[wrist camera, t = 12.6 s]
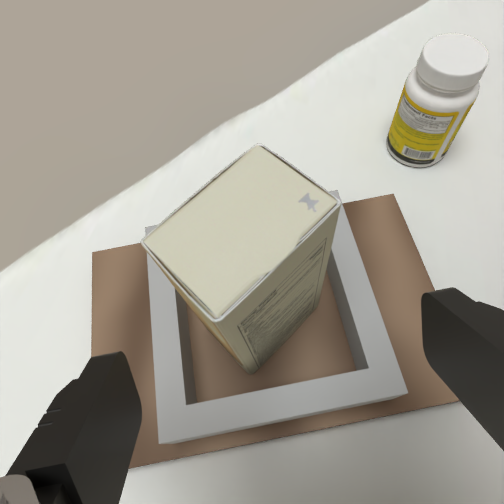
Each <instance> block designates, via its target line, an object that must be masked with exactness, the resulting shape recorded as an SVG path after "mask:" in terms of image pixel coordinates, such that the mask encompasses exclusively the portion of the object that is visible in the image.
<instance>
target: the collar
mask: <svg viewBox="0 0 504 504" xmlns="http://www.w3.org/2000/svg"><path fill="white" fill-rule="evenodd" d="M329 193H331V194H332V195H334V196H335V197H336V198H338V199H339V200H340V201H341V199H340V196H339V193H338V190H335V191H330V192H329ZM157 226H158V225H155V226H149V227H145V232H146V235H148V234H149V233H150V232H151V231H152V230H153V229H154V228H156V227H157ZM147 264H148V280H149V296H150V312H151V327H152V343H153V359H154V375H155V391H156V407H157V422H158V438H159V444H175V443H180V442H185V441H190V440H195V439H200V438H205V437H210V436H215V435H219V434H224V433H229V432H234V431H239V430H244V429H249V428H254V427H259V426H264V425H268V424H273V423H278V422H283V421H288V420H293V419H298V418H303V417H308V416H313V415H317V414H322V413H327V412H332V411H337V410H342V409H347V408H352V407H357V406H362V405H366V404H371V403H376V402H381V401H386V400H391V399H394V398H397V397H399V396H402V395H405V394H407V393H408V391H407V388H406V385H405V382H404V379H403V376H402V373H401V371H400V368H399V365H398V362H397V359H396V356H395V353H394V350H393V348H392V345H391V342H390V339H389V336H388V333H387V330H386V328H385V325H384V322H383V319H382V316H381V313H380V310H379V308H378V305H377V302H376V299H375V296H374V293H373V290H372V288H371V285H370V282H369V279H368V276H367V273H366V270H365V268H364V265H363V262H362V259H361V256H360V253H359V250H358V248H357V245H356V242H355V239H354V236H353V233H352V230H351V227H350V225H349V222H348V219H347V216H346V213H345V210H344V207H343V205H342V202H341V207H340V212H339V216H338V220H337V225H336V229H335V234H334V238H333V243H332V247H331V251H330V255H329V259H328V264H327V268H326V270H327V273H328V276H329V280H330V283H331V286H332V290H333V293H334V296H335V300H336V303H337V306H338V310H339V313H340V317H341V320H342V323H343V327H344V330H345V333H346V337H347V340H348V343H349V347H350V350H351V353H352V357H353V360H354V363H355V367H356V370H357V371H353V372H348V373H343V374H338V375H333V376H328V377H323V378H319V379H314V380H309V381H304V382H299V383H294V384H289V385H284V386H279V387H274V388H269V389H264V390H259V391H254V392H249V393H244V394H240V395H235V396H230V397H225V398H220V399H215V400H210V401H205V402H200V403H197V398H196V389H195V380H194V371H193V362H192V352H191V343H190V334H189V325H188V316H187V306H186V302H185V300H184V299H183V298H182V296H181V295H180V294H179V292H178V291H177V290H176V289H175V287H174V286H173V285H172V284H171V282H170V281H169V280H168V278H167V277H166V276H165V274H164V273H163V272H162V270H161V269H160V268H159V267H158V265H157V264H156V263H155V261H154V260H153V259H152V258H151V256H150V255H149V254H148V253H147Z"/></svg>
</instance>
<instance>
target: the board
mask: <svg viewBox="0 0 504 504" xmlns="http://www.w3.org/2000/svg"><path fill="white" fill-rule="evenodd" d="M342 205H343V207H344V210H345V213H346V216H347V219H348V222H349V225H350V227H351V230H352V233H353V236H354V239H355V242H356V245H357V248H358V250H359V253H360V256H361V259H362V262H363V265H364V268H365V270H366V273H367V276H368V279H369V282H370V285H371V288H372V290H373V293H374V296H375V299H376V302H377V305H378V308H379V310H380V313H381V316H382V319H383V322H384V325H385V328H386V330H387V333H388V336H389V339H390V342H391V345H392V348H393V350H394V353H395V356H396V359H397V362H398V365H399V368H400V371H401V373H402V376H403V379H404V382H405V385H406V388H407V391H408V393H407V394H405V395H402V396H399V397H397V398H394V399H391V400H386V401H381V402H376V403H371V404H366V405H362V406H357V407H352V408H347V409H342V410H337V411H332V412H327V413H322V414H317V415H313V416H308V417H303V418H298V419H293V420H288V421H283V422H278V423H273V424H268V425H264V426H259V427H254V428H249V429H244V430H239V431H234V432H229V433H224V434H219V435H215V436H210V437H205V438H200V439H195V440H190V441H185V442H180V443H175V444H159V438H158V422H157V407H156V391H155V375H154V359H153V343H152V327H151V312H150V296H149V280H148V264H147V252H146V250H145V249H144V248H143V246H142V245H141V243H138V244H133V245H128V246H122V247H117V248H112V249H107V250H102V251H97V252H92V342H91V357H93V356H98V355H103V354H108V353H114V352H119V351H122V352H123V353H124V354H125V356H126V358H127V360H128V364H129V367H130V370H131V373H132V376H133V379H134V382H135V385H136V388H137V391H138V394H139V397H140V400H141V406H142V422H141V426H140V430H139V433H138V437H137V440H136V444H135V448H134V451H133V455H132V458H131V462H130V465H129V469H130V468H134V467H139V466H144V465H149V464H154V463H159V462H164V461H169V460H173V459H178V458H183V457H188V456H193V455H198V454H203V453H208V452H212V451H217V450H222V449H227V448H232V447H237V446H242V445H247V444H252V443H256V442H261V441H266V440H271V439H276V438H281V437H286V436H291V435H295V434H300V433H305V432H310V431H315V430H320V429H325V428H330V427H334V426H339V425H344V424H349V423H354V422H359V421H364V420H369V419H374V418H378V417H383V416H388V415H393V414H398V413H403V412H408V411H413V410H417V409H422V408H427V407H432V406H437V405H442V404H447V403H452V402H457V401H460V400H459V399H458V398H457V397H456V395H455V394H454V393H453V392H452V391H451V390H450V389H449V387H448V386H447V385H446V384H445V383H444V382H443V380H442V379H441V378H440V377H439V376H438V375H437V374H436V372H435V371H434V370H433V369H432V368H431V366H430V365H429V363H428V361H427V359H426V356H425V353H424V349H423V341H422V317H421V297H422V295H423V294H424V293H426V292H431V291H435V289H434V287H433V285H432V282H431V280H430V278H429V275H428V273H427V271H426V268H425V266H424V264H423V261H422V259H421V257H420V254H419V252H418V250H417V247H416V245H415V243H414V240H413V238H412V236H411V233H410V231H409V229H408V226H407V224H406V222H405V219H404V217H403V215H402V213H401V210H400V208H399V206H398V203H397V201H396V199H395V196H394V194H390V195H384V196H379V197H374V198H369V199H364V200H359V201H354V202H349V203H343V204H342ZM186 306H187V316H188V325H189V334H190V343H191V352H192V362H193V371H194V380H195V389H196V398H197V403H200V402H205V401H210V400H215V399H220V398H225V397H230V396H235V395H240V394H244V393H249V392H254V391H259V390H264V389H269V388H274V387H279V386H284V385H289V384H294V383H299V382H304V381H309V380H314V379H319V378H323V377H328V376H333V375H338V374H343V373H348V372H353V371H357V370H356V367H355V363H354V360H353V357H352V353H351V350H350V347H349V343H348V340H347V337H346V333H345V330H344V327H343V323H342V320H341V317H340V313H339V310H338V306H337V303H336V300H335V296H334V293H333V290H332V286H331V283H330V280H329V276H328V273H327V270H326V273H325V277H324V281H323V286H322V290H321V295H320V299H319V304H318V306H317V308H316V309H315V310H314V311H313V312H312V313H311V314H310V316H309V317H308V318H307V319H306V320H305V321H304V322H303V323H302V325H301V326H300V327H299V328H298V329H297V330H296V331H295V332H294V333H293V334H292V335H291V336H290V337H289V338H288V339H287V341H286V342H285V343H284V344H283V345H282V346H281V347H280V348H279V349H278V350H277V351H276V352H275V353H274V354H273V355H272V356H271V357H270V358H269V359H268V360H267V361H266V362H265V363H264V364H263V365H262V366H261V367H260V368H259V369H258V370H257V371H256V372H255V373H254V374H248V373H247V372H246V371H245V370H244V369H243V368H242V367H241V366H240V365H239V364H238V363H237V362H236V361H235V360H234V358H233V357H232V356H231V355H230V354H229V353H228V352H227V351H226V350H225V349H224V348H223V346H222V345H221V344H220V343H219V342H218V341H217V340H216V339H215V338H214V336H213V335H212V334H211V333H210V332H209V331H208V330H207V329H206V327H205V326H204V325H203V323H202V322H201V321H200V320H199V318H198V317H197V316H196V314H195V313H194V312H193V311H192V309H191V308H190V307H189V305H188V304H187V303H186Z"/></svg>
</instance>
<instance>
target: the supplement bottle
mask: <svg viewBox="0 0 504 504" xmlns="http://www.w3.org/2000/svg"><path fill="white" fill-rule="evenodd" d="M488 62H489V52H488V50H487V48H486V47H485V46H484V45H483V44H482V43H481V42H480V41H478V40H477V39H475V38H473V37H471V36H468V35H465V34H458V33H446V34H441V35H438V36H435V37H433V38H431V39H430V40H429V41H428V42H427V43H426V44H425V45H424V47H423V50H422V52H421V55H420V57H419V59H418V61H417V66H416V67H415V68H414V69H413V70H412V71H411V72H410V73H409V75H408V77H407V79H406V82H405V85H404V88H403V91H402V94H401V97H400V100H399V103H398V106H397V109H396V112H395V115H394V118H393V121H392V124H391V127H390V130H389V133H388V137H387V148H388V150H389V152H390V154H391V155H392V156H393V157H394V158H395V159H396V160H398V161H399V162H401V163H403V164H405V165H408V166H412V167H427V166H430V165H433V164H435V163H437V162H438V161H440V160H441V159H442V158H443V157H444V155H445V154H446V152H447V151H448V149H449V147H450V145H451V143H452V141H453V140H454V138H455V136H456V134H457V132H458V130H459V129H460V127H461V125H462V123H463V121H464V119H465V118H466V116H467V114H468V112H469V111H470V109H471V107H472V105H473V104H474V102H475V100H476V98H477V96H478V93H479V88H480V84H479V80H480V79H481V77H482V74H483V73H484V71H485V69H486V67H487V65H488Z"/></svg>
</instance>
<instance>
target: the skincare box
mask: <svg viewBox="0 0 504 504" xmlns="http://www.w3.org/2000/svg"><path fill="white" fill-rule="evenodd" d="M340 207H341V201H340V200H339V199H338V198H336V197H335V196H334V195H332V194H331V193H329V192H328V191H327V190H325V189H324V188H323V187H322V186H320V185H319V184H317V183H316V182H315V181H314V180H312V179H311V178H310V177H308V176H307V175H305V174H304V173H303V172H301V171H300V170H299V169H297V168H296V167H295V166H293V165H292V164H290V163H289V162H288V161H286V160H285V159H283V158H282V157H280V156H279V155H278V154H276V153H274V152H273V151H271V150H270V149H268V148H267V147H265V146H264V145H262V144H261V143H257V144H255V145H254V146H253V147H251V148H250V149H249V150H247V151H246V152H244V153H243V154H242V155H241V156H239V157H238V158H237V159H235V160H234V161H233V162H232V163H230V164H229V165H228V166H227V167H225V168H224V169H223V170H222V171H220V172H219V173H218V174H217V175H216V176H214V177H213V178H212V179H211V180H210V181H209V182H207V183H206V184H205V185H204V186H203V187H201V188H200V189H199V190H198V191H197V192H196V193H194V194H193V195H192V196H191V197H190V198H188V199H187V200H186V201H185V202H184V203H183V204H181V205H180V206H179V207H178V208H177V209H176V210H174V211H173V212H172V213H171V214H170V215H169V216H168V217H167V218H166V219H165V220H163V221H162V222H161V223H160V224H159V225H158V226H157V227H156V228H154V229H153V230H152V231H151V232H150V233H149V234H148V235H146V236H145V237H144V238H143V239H142V240H141V245H142V246H143V248H144V249H145V250H146V252H147V253H148V254H149V255H150V256H151V258H152V259H153V260H154V261H155V263H156V264H157V265H158V267H159V268H160V269H161V270H162V272H163V273H164V274H165V276H166V277H167V278H168V280H169V281H170V282H171V284H172V285H173V286H174V287H175V289H176V290H177V291H178V292H179V294H180V295H181V296H182V298H183V299H184V300H185V302H186V303H187V304H188V305H189V307H190V308H191V309H192V311H193V312H194V313H195V314H196V316H197V317H198V318H199V320H200V321H201V322H202V323H203V325H204V326H205V327H206V329H207V330H208V331H209V332H210V333H211V334H212V335H213V336H214V338H215V339H216V340H217V341H218V342H219V343H220V344H221V345H222V346H223V348H224V349H225V350H226V351H227V352H228V353H229V354H230V355H231V356H232V357H233V358H234V360H235V361H236V362H237V363H238V364H239V365H240V366H241V367H242V368H243V369H244V370H245V371H246V372H247V373H248V374H254V373H255V372H256V371H257V370H258V369H259V368H260V367H261V366H262V365H263V364H264V363H265V362H266V361H267V360H268V359H269V358H270V357H271V356H272V355H273V354H274V353H275V352H276V351H277V350H278V349H279V348H280V347H281V346H282V345H283V344H284V343H285V342H286V341H287V339H288V338H289V337H290V336H291V335H292V334H293V333H294V332H295V331H296V330H297V329H298V328H299V327H300V326H301V325H302V323H303V322H304V321H305V320H306V319H307V318H308V317H309V316H310V314H311V313H312V312H313V311H314V310H315V309H316V308H317V306H318V304H319V299H320V295H321V290H322V286H323V281H324V277H325V273H326V268H327V264H328V259H329V255H330V251H331V247H332V243H333V238H334V234H335V229H336V225H337V220H338V216H339V212H340Z"/></svg>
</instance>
